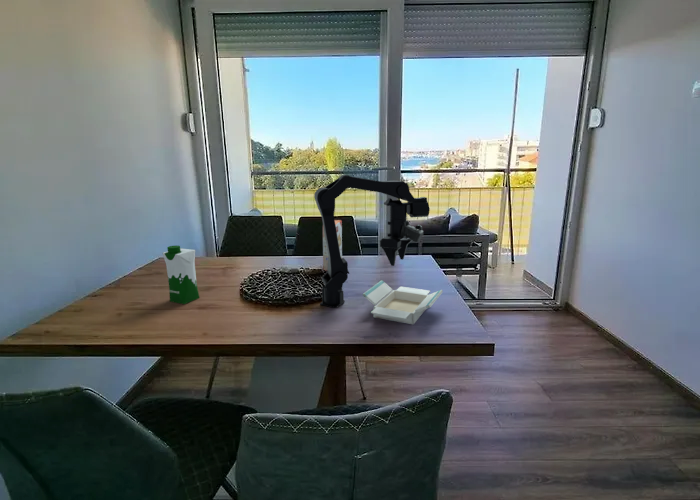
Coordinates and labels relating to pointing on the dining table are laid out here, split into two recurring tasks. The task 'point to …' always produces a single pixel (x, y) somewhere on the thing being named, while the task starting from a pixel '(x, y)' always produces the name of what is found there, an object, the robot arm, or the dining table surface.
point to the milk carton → (181, 274)
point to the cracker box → (325, 251)
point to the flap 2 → (428, 301)
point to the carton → (401, 305)
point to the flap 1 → (377, 292)
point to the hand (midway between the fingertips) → (397, 262)
